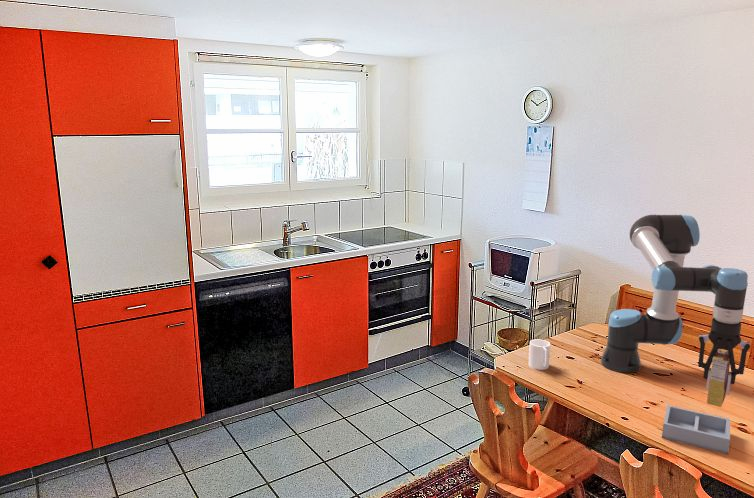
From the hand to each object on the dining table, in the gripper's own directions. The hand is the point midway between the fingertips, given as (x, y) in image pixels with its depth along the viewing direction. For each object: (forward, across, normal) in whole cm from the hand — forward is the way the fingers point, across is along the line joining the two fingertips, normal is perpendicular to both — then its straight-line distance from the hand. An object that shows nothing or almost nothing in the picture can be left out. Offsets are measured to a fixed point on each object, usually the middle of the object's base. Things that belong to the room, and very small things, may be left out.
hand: (717, 390), depth 172 cm
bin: (+17, -4, 0) cm, 17 cm away
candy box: (+3, 0, 0) cm, 3 cm away
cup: (+17, -61, +26) cm, 69 cm away
